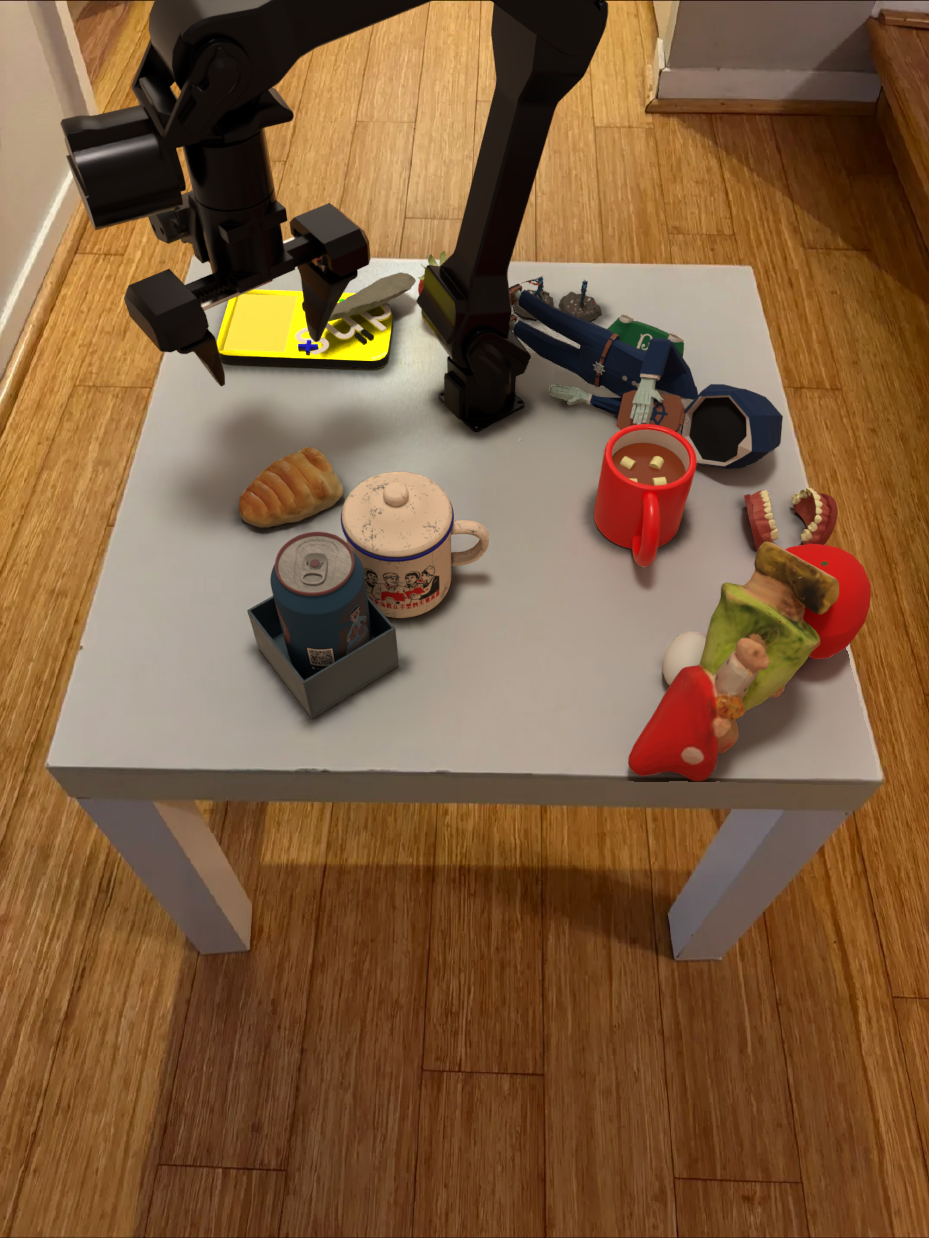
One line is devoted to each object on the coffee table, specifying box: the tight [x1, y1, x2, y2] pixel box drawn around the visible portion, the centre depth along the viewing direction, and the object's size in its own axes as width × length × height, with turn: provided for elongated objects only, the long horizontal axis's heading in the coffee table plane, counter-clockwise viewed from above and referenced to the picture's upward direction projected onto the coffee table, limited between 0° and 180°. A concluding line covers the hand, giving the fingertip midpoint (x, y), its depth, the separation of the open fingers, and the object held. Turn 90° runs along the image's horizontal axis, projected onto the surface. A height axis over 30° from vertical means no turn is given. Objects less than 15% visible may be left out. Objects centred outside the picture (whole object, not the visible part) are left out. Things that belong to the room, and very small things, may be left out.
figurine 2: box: [627, 541, 839, 782], centre depth 73 cm, size 11×9×20 cm
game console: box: [216, 289, 394, 370], centre depth 104 cm, size 18×11×2 cm, turn 89°
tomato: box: [784, 544, 872, 660], centre depth 80 cm, size 9×10×8 cm
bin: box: [246, 595, 399, 720], centre depth 79 cm, size 8×8×6 cm
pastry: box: [238, 446, 345, 529], centre depth 89 cm, size 9×7×4 cm
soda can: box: [269, 531, 372, 676], centre depth 76 cm, size 7×7×12 cm
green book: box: [607, 313, 685, 358], centre depth 100 cm, size 9×4×6 cm
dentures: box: [743, 487, 838, 552], centre depth 88 cm, size 6×4×8 cm
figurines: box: [512, 275, 603, 322], centre depth 105 cm, size 10×5×4 cm, turn 85°
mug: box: [593, 424, 698, 568], centre depth 85 cm, size 8×12×8 cm, turn 179°
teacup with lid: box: [340, 471, 490, 619], centre depth 81 cm, size 12×9×12 cm
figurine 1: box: [509, 283, 784, 470], centre depth 93 cm, size 12×12×30 cm
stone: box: [328, 272, 417, 322], centre depth 103 cm, size 13×2×5 cm
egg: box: [662, 631, 706, 686], centre depth 79 cm, size 4×6×4 cm, turn 157°
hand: (268, 360), depth 83 cm, fingers open, 9 cm apart
